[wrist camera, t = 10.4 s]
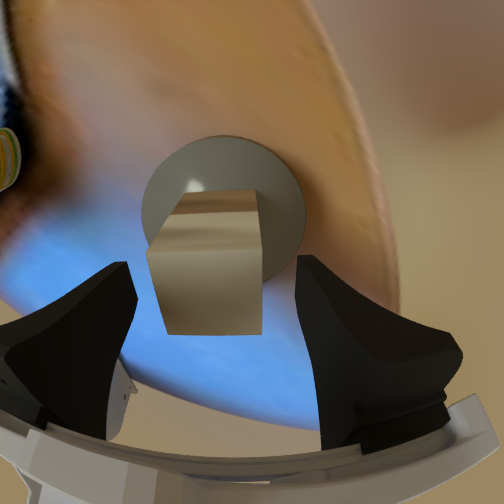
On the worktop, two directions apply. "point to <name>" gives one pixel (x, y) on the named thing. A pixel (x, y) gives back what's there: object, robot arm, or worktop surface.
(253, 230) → the block
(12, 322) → the robot arm
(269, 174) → the stand
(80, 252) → the worktop surface
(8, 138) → the supplement bottle
